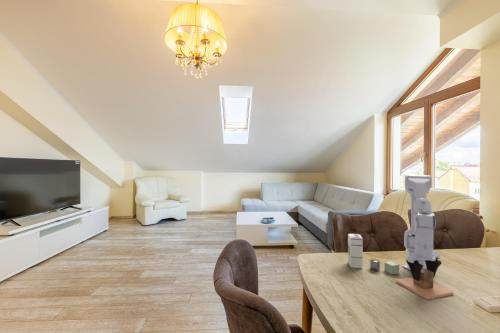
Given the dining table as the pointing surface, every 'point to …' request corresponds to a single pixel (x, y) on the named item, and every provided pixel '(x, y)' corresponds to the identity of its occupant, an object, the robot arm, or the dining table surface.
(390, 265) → the sage painted cube
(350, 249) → the syrup box
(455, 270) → the dining table surface
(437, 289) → the terracotta tile
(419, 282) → the walnut block
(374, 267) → the grey metal cylinder
